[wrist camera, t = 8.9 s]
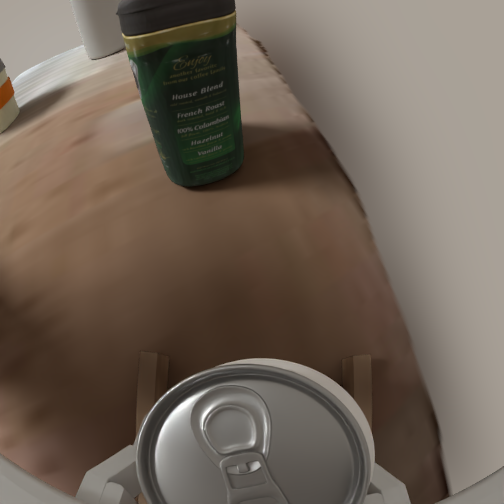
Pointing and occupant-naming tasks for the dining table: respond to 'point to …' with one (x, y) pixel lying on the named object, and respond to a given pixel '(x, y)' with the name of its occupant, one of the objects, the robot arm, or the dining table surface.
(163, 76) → the coffee jar
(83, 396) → the dining table surface
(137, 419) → the rail channel
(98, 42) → the cylinder vase
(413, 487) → the dining table surface
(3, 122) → the reusable coffee cup
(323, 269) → the dining table surface
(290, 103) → the dining table surface
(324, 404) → the can
